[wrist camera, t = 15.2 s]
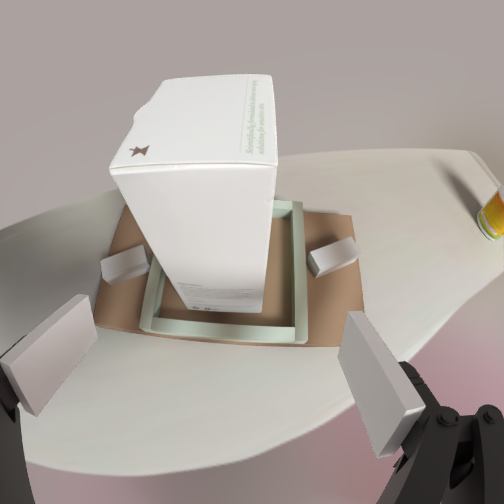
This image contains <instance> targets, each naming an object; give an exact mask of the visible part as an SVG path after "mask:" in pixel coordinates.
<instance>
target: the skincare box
mask: <svg viewBox="0 0 504 504" xmlns="http://www.w3.org/2000/svg"><path fill="white" fill-rule="evenodd" d="M275 117H276V116H275V103H274V91H273V83H272V78H271V76H270V75H259V74H235V75H215V76H201V77H188V78H177V79H169V80H164V81H163V82H162V83H161V85H160V86H159V88H158V89H157V90H156V92H155V93H154V94H153V96H152V97H151V98H150V100H149V101H148V103H147V104H145V105H144V106H142V107H141V108H140V109H139V110H138V111H137V113H136V114H135V115H134V118H133V122H134V124H133V126H132V128H131V129H130V131H129V133H128V134H127V136H126V138H125V139H124V141H123V143H122V144H121V146H120V148H119V150H118V151H117V153H116V155H115V157H114V158H113V160H112V162H111V164H110V166H109V170H110V175H111V177H112V178H113V180H114V181H115V182H116V184H117V186H118V188H119V190H120V192H121V194H122V195H123V197H124V199H125V201H126V203H127V205H128V207H129V209H130V211H131V213H132V215H133V216H134V218H135V220H136V222H137V224H138V226H139V228H140V230H141V231H142V233H143V235H144V237H145V239H146V240H147V242H148V244H149V246H150V248H151V249H152V251H153V253H154V254H155V256H156V258H157V260H158V261H159V263H160V265H161V266H162V268H163V270H164V271H165V273H166V275H167V276H168V278H169V280H170V281H171V283H172V284H173V286H174V288H175V289H176V291H177V293H178V294H179V296H180V297H181V299H182V301H183V302H184V304H185V306H186V307H187V309H189V310H203V311H218V312H242V313H261V311H262V304H263V295H264V284H265V276H266V268H267V259H268V249H269V240H270V231H271V222H272V212H273V203H274V193H275V183H276V173H277V166H278V156H277V135H276V118H275Z"/></svg>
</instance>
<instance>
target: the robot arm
mask: <svg viewBox="0 0 504 504" xmlns="http://www.w3.org/2000/svg"><path fill="white" fill-rule="evenodd" d="M97 340H98V336H97V332H96V328H95V324H94V319H93V315H92V310H91V305H90V300H89V295H84V294H77V295H75V296H74V297H73V298H71V299H70V300H69V301H68V302H66V303H65V304H64V305H63V306H61V307H60V308H59V309H58V310H56V311H55V312H54V313H53V314H51V315H50V316H49V317H48V318H46V319H45V320H44V321H43V322H42V323H40V324H39V325H38V326H37V327H36V328H35V329H33V330H32V331H31V332H30V333H29V334H27V335H25V336H23V337H22V338H21V339H20V340H19V341H18V342H17V343H15V344H14V345H13V346H12V348H10V349H9V350H7V351H6V352H5V353H4V354H3V355H2V356H1V357H0V504H35V501H34V498H33V494H32V491H31V486H30V482H29V478H28V473H27V468H26V463H25V457H24V450H23V443H22V435H21V425H20V411H19V408H18V406H17V404H18V403H19V401H20V403H21V404H22V406H23V408H24V409H25V411H27V412H28V413H30V414H32V415H34V416H36V417H37V416H38V415H39V413H40V412H41V411H42V409H43V408H44V407H45V405H46V404H47V403H48V401H49V400H50V399H51V397H52V396H53V395H54V393H55V392H56V391H57V389H58V388H59V387H60V386H61V384H62V383H63V382H64V380H65V379H66V378H67V377H68V375H69V374H70V373H71V372H72V370H73V369H74V368H75V367H76V365H77V364H78V363H79V362H80V360H81V359H82V358H83V357H84V356H85V354H86V353H87V352H88V351H89V350H90V348H91V347H92V346H93V345H94V344H95V342H96V341H97ZM338 359H339V362H340V364H341V367H342V369H343V372H344V374H345V377H346V379H347V382H348V384H349V387H350V389H351V392H352V394H353V397H354V399H355V402H356V405H357V407H358V409H359V412H360V415H361V418H362V420H363V423H364V426H365V428H366V431H367V434H368V436H369V439H370V442H371V445H372V448H373V450H374V453H375V456H376V458H381V457H385V456H389V455H393V454H395V453H396V451H397V450H398V449H399V447H400V446H402V449H403V451H404V453H403V454H402V456H401V457H400V458H399V460H398V461H397V462H396V463H395V465H394V466H393V467H394V468H395V467H396V468H395V470H394V472H393V474H392V476H391V478H390V480H389V482H388V484H387V486H386V487H385V489H384V491H383V493H382V495H381V496H380V498H379V500H378V502H377V503H376V504H440V503H441V504H504V418H503V415H502V413H501V411H500V410H499V409H498V408H497V407H495V406H493V405H483V406H481V407H480V408H479V409H478V411H477V413H476V414H475V415H469V416H468V415H467V416H460V415H459V413H458V412H457V411H455V410H454V409H452V408H450V407H446V406H440V404H439V403H438V401H437V400H436V398H435V397H434V395H433V394H432V392H431V391H430V389H429V388H428V387H427V385H426V384H424V381H423V379H422V378H421V377H420V375H419V374H418V372H417V371H416V369H415V368H414V367H413V366H411V365H410V364H409V363H407V362H406V361H403V362H397V360H396V359H395V357H394V356H393V354H392V353H391V351H390V350H389V348H388V347H387V345H386V344H385V342H384V341H383V340H382V338H381V337H380V335H379V334H378V332H377V331H376V330H375V328H374V327H373V325H372V324H371V322H370V321H369V320H368V318H367V317H366V315H365V314H364V313H363V311H348V313H347V318H346V323H345V327H344V332H343V336H342V340H341V345H340V349H339V353H338ZM441 500H442V501H441Z"/></svg>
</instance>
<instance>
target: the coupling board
mask: <svg viewBox="0 0 504 504" xmlns="http://www.w3.org/2000/svg"><path fill="white" fill-rule="evenodd" d="M360 254H361V251H360V250H359V248H358V246H357V245H356V241H355V235H354V229H353V223H352V218H351V216H349V215H338V214H327V213H314V212H303V205H302V202H296V201H282V200H274V203H273V212H272V222H271V231H270V240H269V249H268V259H267V268H266V276H265V284H264V295H263V304H262V311H261V313H242V312H218V311H203V310H189V309H187V307H186V306H185V304H184V302H183V301H182V299H181V297H180V296H179V294H178V293H177V291H176V289H175V288H174V286H173V284H172V283H171V281H170V280H169V278H168V276H167V275H166V273H165V271H164V270H163V268H162V266H161V265H160V263H159V261H158V260H157V258H156V256H155V254H154V253H153V251H152V249H151V248H150V246H149V244H148V242H147V240H146V239H145V237H144V235H143V233H142V231H141V230H140V228H139V226H138V224H137V222H136V220H135V218H134V216H133V215H132V213H131V211H130V209H129V207H128V205H125V207H124V210H123V213H122V216H121V219H120V221H119V224H118V227H117V230H116V233H115V236H114V239H113V242H112V246H111V249H110V252H109V255H108V258H105V259H103V260H100V262H101V271H102V281H101V284H100V288H99V292H98V297H97V301H96V305H95V310H94V314H93V319H94V324H95V325H97V326H99V327H103V328H108V329H114V330H119V331H125V332H131V333H137V334H144V335H150V336H157V337H165V338H173V339H181V340H190V341H200V342H211V343H223V344H237V345H255V346H283V347H333V346H340V345H341V340H342V336H343V332H344V327H345V323H346V318H347V313H348V311H363V313H364V303H363V293H362V284H361V276H360V268H359V261H358V256H359V255H360Z"/></svg>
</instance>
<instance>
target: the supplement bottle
mask: <svg viewBox="0 0 504 504" xmlns="http://www.w3.org/2000/svg"><path fill="white" fill-rule="evenodd" d="M477 221H478V224H479V227H480V229H481V231H482V232H483V233H484V235H485V236H486V237H487V238H489V239H490V240H492V241H496V240H498V239H499V238H500V237H501V236H502V235H503V234H504V184H503V185H502V186H500V188H499V189H498V190H497V191H496V192H495V194H494V195H493V196H492V197H491V198H490V199H489V201H488V202H487V203H486V204H485V205H484V206H483V208H482V209H481V210H480V211H479V212H478V214H477Z"/></svg>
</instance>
